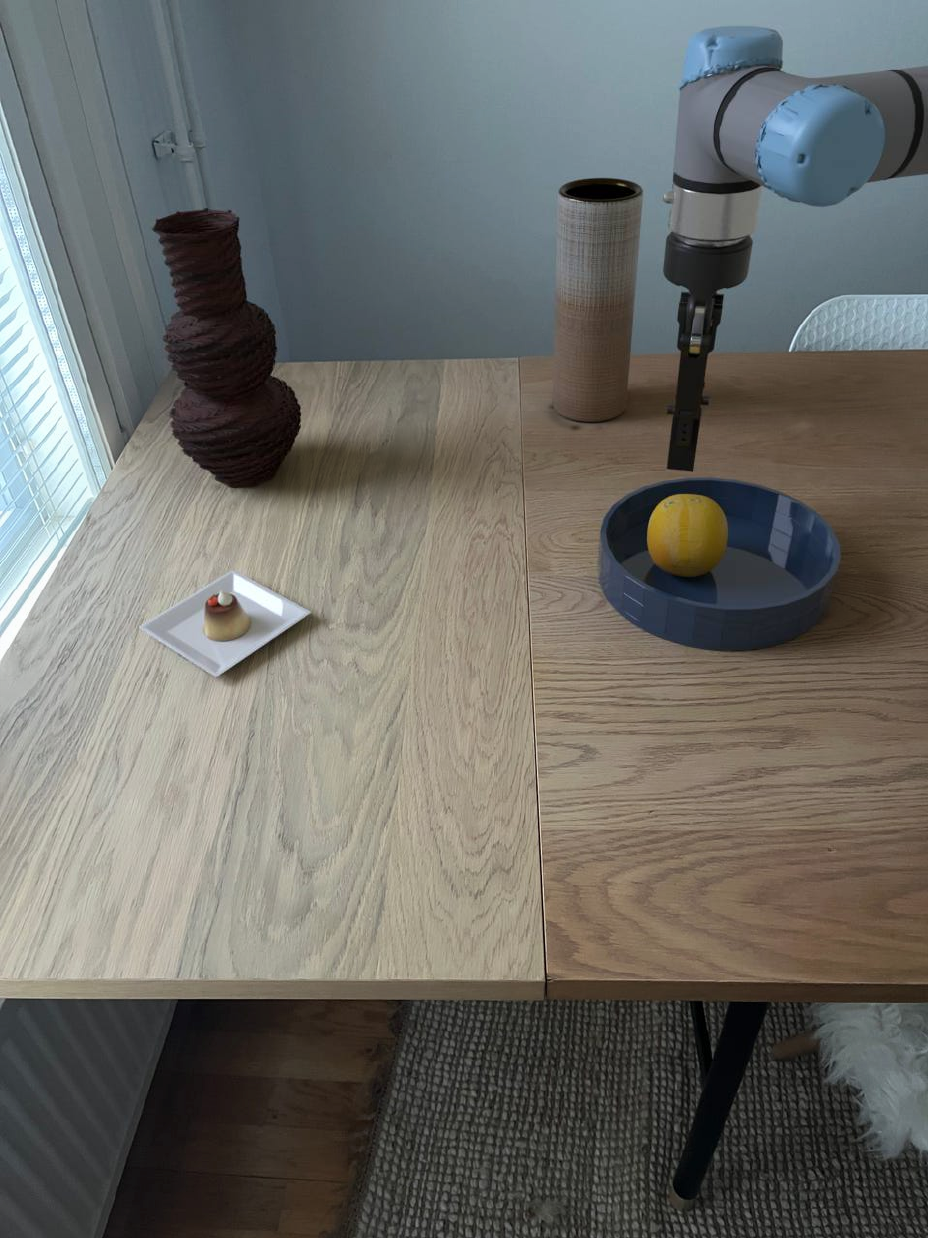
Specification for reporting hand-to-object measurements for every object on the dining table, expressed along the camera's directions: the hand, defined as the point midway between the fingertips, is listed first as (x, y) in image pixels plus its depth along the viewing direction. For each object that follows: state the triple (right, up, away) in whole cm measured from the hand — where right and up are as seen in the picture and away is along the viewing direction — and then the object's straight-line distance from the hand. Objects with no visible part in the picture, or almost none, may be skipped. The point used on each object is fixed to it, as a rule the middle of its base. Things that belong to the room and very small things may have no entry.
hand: (680, 466), depth 99 cm
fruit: (0, -11, -1) cm, 11 cm away
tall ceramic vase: (-6, +13, +30) cm, 33 cm away
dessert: (-46, -17, -5) cm, 49 cm away
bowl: (+3, -12, -1) cm, 12 cm away
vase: (-49, +2, +19) cm, 53 cm away
